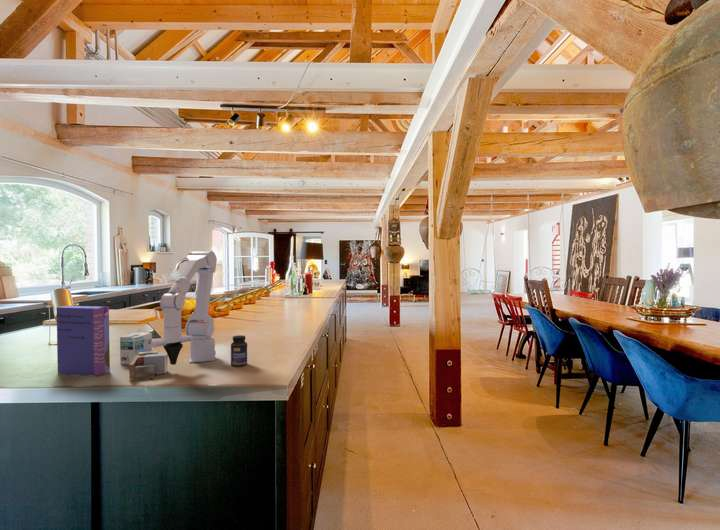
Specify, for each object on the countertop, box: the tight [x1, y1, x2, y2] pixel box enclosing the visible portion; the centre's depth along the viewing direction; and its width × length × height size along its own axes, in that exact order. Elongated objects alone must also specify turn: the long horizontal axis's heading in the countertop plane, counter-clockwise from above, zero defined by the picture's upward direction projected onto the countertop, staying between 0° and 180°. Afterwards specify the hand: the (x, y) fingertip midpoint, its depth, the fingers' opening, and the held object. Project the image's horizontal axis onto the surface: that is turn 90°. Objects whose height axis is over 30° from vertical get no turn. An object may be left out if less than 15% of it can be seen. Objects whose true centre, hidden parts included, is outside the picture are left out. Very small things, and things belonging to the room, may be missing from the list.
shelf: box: [128, 350, 159, 382], centre depth 145 cm, size 7×15×6 cm, turn 21°
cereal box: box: [56, 305, 111, 377], centre depth 146 cm, size 17×5×24 cm, turn 78°
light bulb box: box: [119, 331, 153, 365], centre depth 163 cm, size 11×7×11 cm, turn 172°
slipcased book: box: [144, 352, 169, 375], centre depth 145 cm, size 7×4×6 cm, turn 106°
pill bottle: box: [230, 335, 248, 367], centre depth 156 cm, size 6×6×11 cm
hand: (173, 364), depth 147 cm, fingers closed
